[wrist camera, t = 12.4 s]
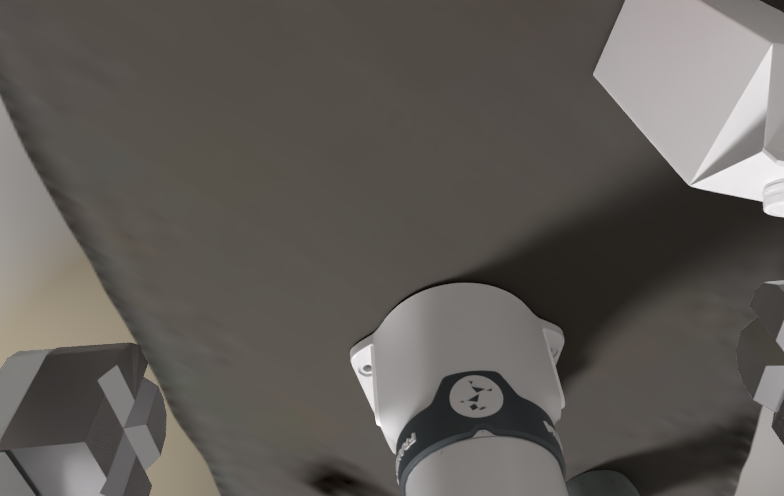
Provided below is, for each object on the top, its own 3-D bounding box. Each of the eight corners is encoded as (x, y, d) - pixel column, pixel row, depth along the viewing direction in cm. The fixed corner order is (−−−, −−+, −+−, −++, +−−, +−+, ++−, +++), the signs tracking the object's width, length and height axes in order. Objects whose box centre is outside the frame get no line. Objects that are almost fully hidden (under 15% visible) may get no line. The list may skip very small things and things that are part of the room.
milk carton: (639, -38, 38) (834, 76, 23) (741, -10, 39) (991, 116, 24) (590, 74, 42) (728, 235, 27) (685, 96, 43) (868, 262, 28)
